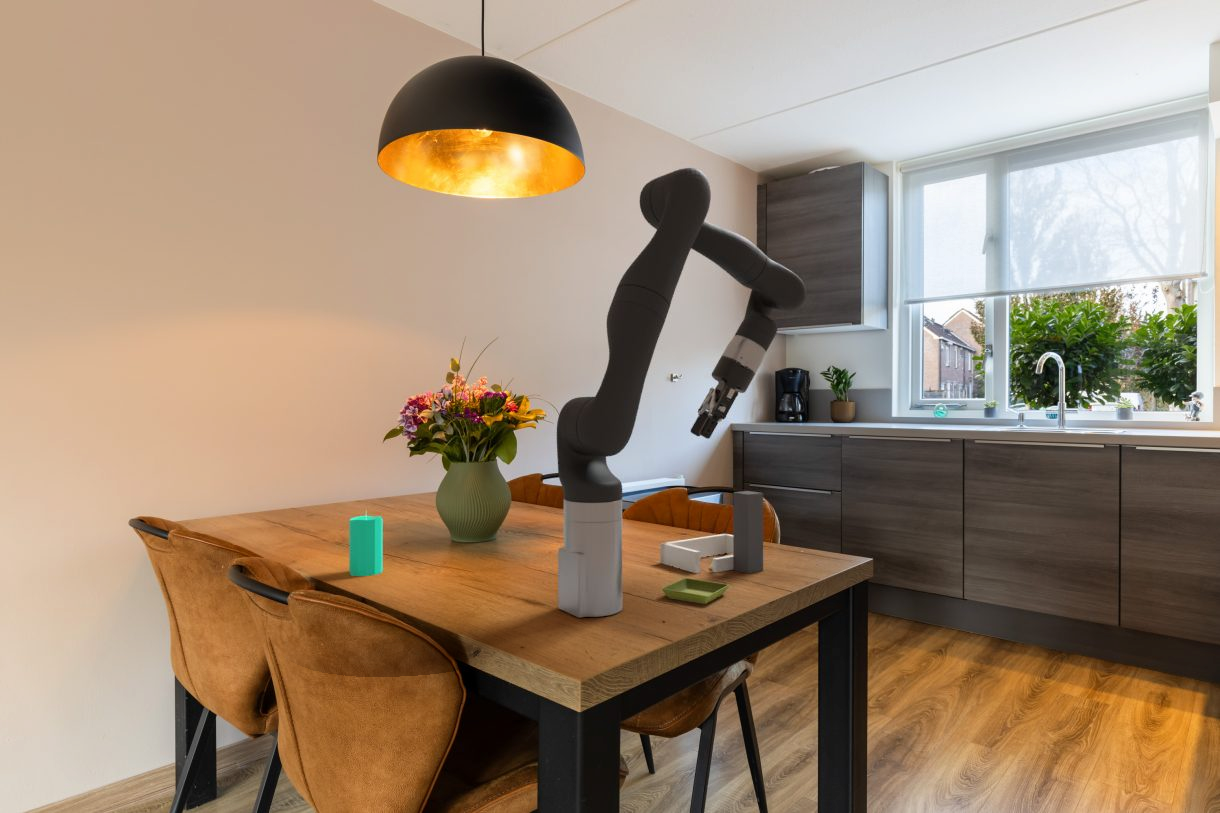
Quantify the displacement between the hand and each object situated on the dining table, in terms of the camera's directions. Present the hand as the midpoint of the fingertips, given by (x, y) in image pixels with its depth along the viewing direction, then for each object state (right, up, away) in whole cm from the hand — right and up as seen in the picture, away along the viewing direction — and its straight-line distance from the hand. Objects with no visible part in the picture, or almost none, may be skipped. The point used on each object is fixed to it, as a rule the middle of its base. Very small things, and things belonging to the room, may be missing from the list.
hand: (698, 435), depth 135 cm
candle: (-64, -26, -3) cm, 69 cm away
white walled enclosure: (+3, -26, +5) cm, 27 cm away
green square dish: (-3, -27, -20) cm, 33 cm away
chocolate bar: (+6, -27, +4) cm, 28 cm away
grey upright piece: (+9, -26, -2) cm, 28 cm away
